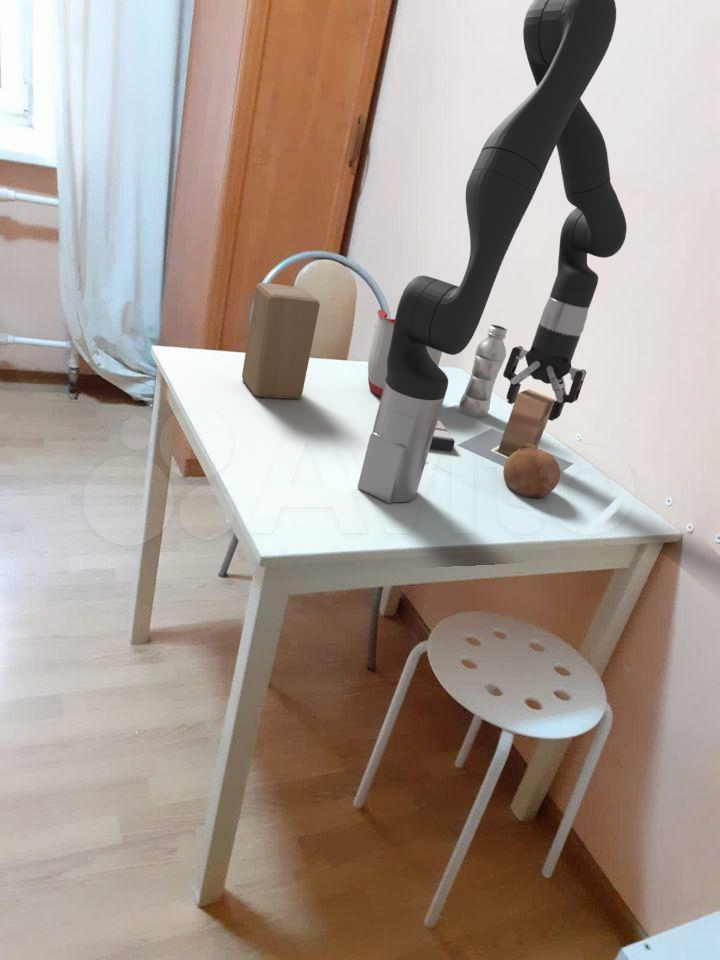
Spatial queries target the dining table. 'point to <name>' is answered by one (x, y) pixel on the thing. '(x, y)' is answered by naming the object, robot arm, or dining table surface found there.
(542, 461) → the onion
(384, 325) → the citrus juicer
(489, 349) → the plastic bottle
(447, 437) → the calculator
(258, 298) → the wooden block
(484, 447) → the grey flat plate
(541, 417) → the terracotta block
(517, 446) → the walnut block
